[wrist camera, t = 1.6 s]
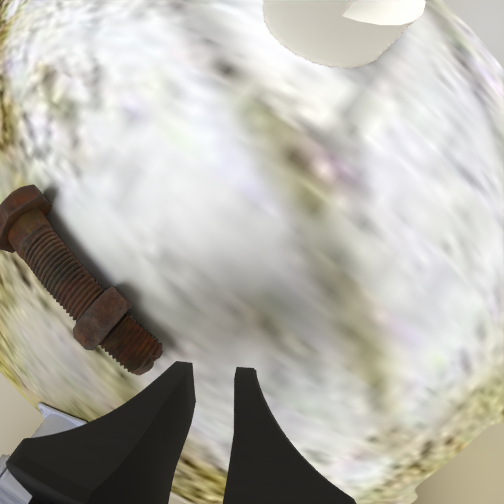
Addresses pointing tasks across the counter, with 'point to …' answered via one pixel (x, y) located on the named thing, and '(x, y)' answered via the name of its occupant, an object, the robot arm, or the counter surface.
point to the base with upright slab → (339, 28)
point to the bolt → (74, 283)
